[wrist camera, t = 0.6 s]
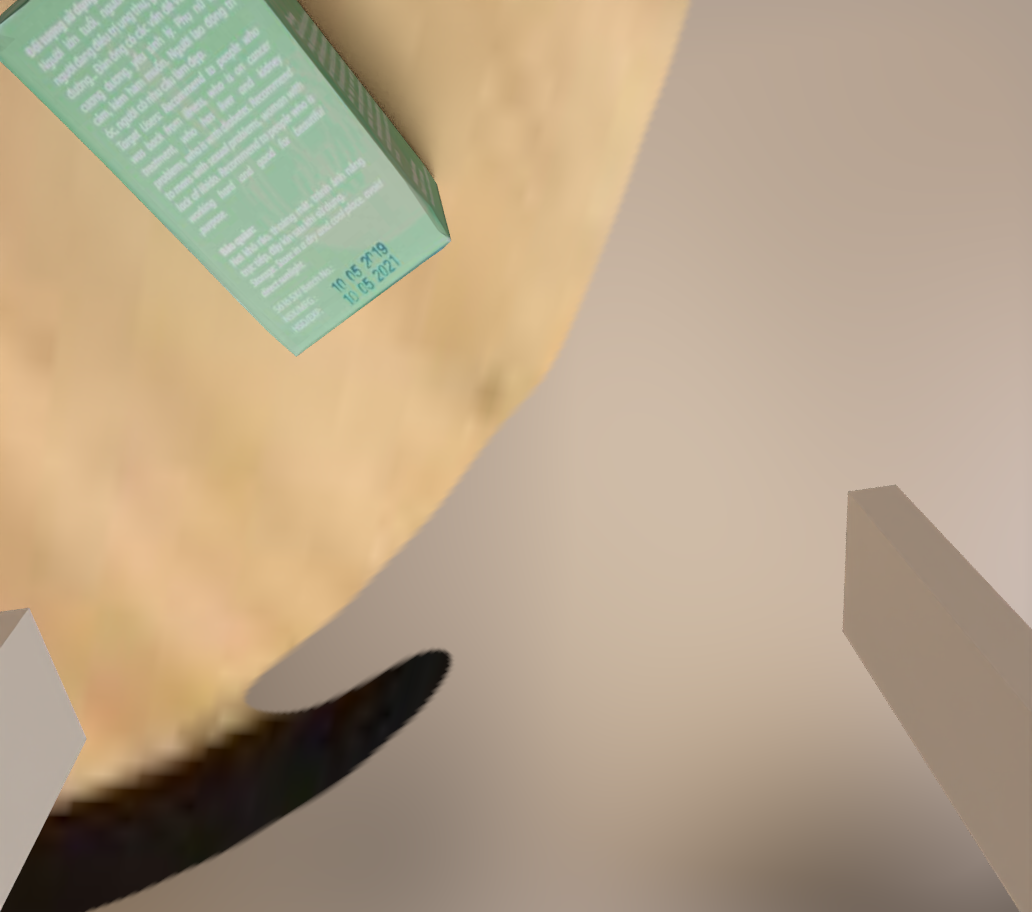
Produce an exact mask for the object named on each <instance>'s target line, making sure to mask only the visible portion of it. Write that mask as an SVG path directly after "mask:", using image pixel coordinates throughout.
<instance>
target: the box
mask: <svg viewBox="0 0 1032 912" xmlns="http://www.w3.org/2000/svg"><path fill="white" fill-rule="evenodd" d="M0 62H1V63H3V64H4V65H5V66H6V67H7V68H8V69H9V70H10V71H11V72H12V73H13V74H14V75H15V76H16V77H17V78H18V79H19V80H20V81H21V82H22V83H23V84H24V85H25V86H27V87H28V88H29V89H30V90H31V91H32V92H33V93H34V94H35V95H36V96H37V97H38V98H39V99H40V100H41V101H42V102H43V103H44V104H45V105H46V106H47V107H48V108H49V109H50V110H51V111H52V112H53V113H54V114H55V115H56V116H57V117H58V118H59V119H60V120H61V121H62V122H63V123H64V124H65V125H66V126H67V127H68V128H69V129H70V130H71V131H72V132H73V133H74V134H75V135H76V136H77V137H78V138H79V139H80V140H81V141H82V142H83V143H84V144H85V145H86V146H87V147H88V148H89V149H90V150H91V151H92V152H93V153H94V154H95V155H96V156H97V157H98V158H99V159H100V160H101V161H102V162H103V163H104V164H105V165H106V166H107V167H108V168H109V169H110V170H111V171H112V172H113V173H114V174H115V175H116V176H117V177H118V178H119V179H120V180H121V181H122V182H123V184H124V185H125V186H126V187H127V188H128V189H129V190H130V191H131V192H132V193H133V194H134V195H135V196H136V197H137V198H138V199H139V200H140V201H141V202H142V203H143V204H144V205H145V206H146V207H147V208H148V209H149V210H150V211H151V212H152V213H153V214H154V215H155V216H156V217H157V218H158V219H159V220H160V221H161V222H162V223H163V224H164V225H165V226H166V228H167V229H168V230H169V231H170V232H171V233H172V234H173V235H174V236H175V237H176V238H177V239H178V240H179V241H180V242H181V243H182V244H183V245H184V246H185V247H186V248H187V249H188V250H189V251H190V252H191V253H192V254H193V255H194V256H195V257H196V258H197V259H198V260H199V261H200V262H201V263H202V264H203V265H204V266H205V268H206V269H207V270H208V271H209V272H210V273H211V274H212V275H213V276H214V277H215V278H216V279H217V280H218V281H219V282H220V283H221V284H222V285H223V286H224V287H225V288H226V289H227V290H228V291H229V292H230V293H231V294H232V296H233V297H234V298H235V299H236V300H237V301H238V302H239V303H240V304H241V305H242V306H243V307H244V308H245V309H246V310H247V311H248V312H249V313H250V314H251V315H252V316H253V317H254V318H255V319H256V320H257V321H258V322H259V323H260V324H261V325H262V326H263V327H264V328H265V329H266V330H267V331H268V332H269V333H270V334H271V335H272V336H274V337H275V338H276V339H277V340H278V341H279V342H280V343H281V344H282V345H284V346H285V347H286V348H287V349H288V350H289V351H290V352H292V353H293V354H294V355H295V356H298V355H299V354H300V353H302V352H303V351H304V350H306V349H307V348H308V347H310V346H311V345H312V344H314V343H315V342H317V341H318V340H319V339H321V338H322V337H323V336H325V335H326V334H327V333H329V332H330V331H331V330H333V329H334V328H335V327H337V326H338V325H340V324H341V323H342V322H344V321H345V320H346V319H348V318H349V317H350V316H352V315H353V314H354V313H356V312H357V311H358V310H360V309H361V308H363V307H364V306H365V305H367V304H368V303H369V302H371V301H372V300H373V299H375V298H376V297H377V296H379V295H380V294H381V293H383V292H384V291H386V290H387V289H388V288H390V287H391V286H392V285H394V284H395V283H396V282H398V281H399V280H400V279H402V278H403V277H404V276H406V275H407V274H409V273H410V272H411V271H413V270H414V269H415V268H417V267H418V266H419V265H421V264H422V263H423V262H425V261H426V260H428V259H429V258H430V257H432V256H433V255H435V254H436V253H437V252H439V251H440V250H442V249H443V248H444V247H445V246H446V245H447V244H448V243H449V242H450V241H451V238H450V234H449V230H448V226H447V223H446V219H445V215H444V211H443V207H442V203H441V199H440V195H439V191H438V187H437V184H436V182H435V181H434V179H433V178H432V176H431V175H430V173H429V171H428V170H427V168H426V167H425V165H424V164H423V163H422V161H421V160H420V159H419V158H418V156H417V155H416V154H415V152H414V151H413V150H412V149H411V147H410V146H409V145H408V143H407V142H406V141H405V140H404V138H403V137H402V136H401V134H400V133H399V132H398V131H397V129H396V128H395V127H394V125H393V124H392V123H391V121H390V120H389V119H388V118H387V116H386V115H385V114H384V112H383V111H382V110H381V109H380V107H379V106H378V105H377V103H376V102H375V101H374V99H373V98H372V97H371V96H370V94H369V93H368V92H367V90H366V89H365V88H364V87H363V85H362V84H361V83H360V81H359V80H358V79H357V78H356V76H355V75H354V74H353V72H352V71H351V70H350V69H349V67H348V66H347V65H346V63H345V62H344V61H343V60H342V58H341V57H340V56H339V54H338V53H337V52H336V51H335V49H334V48H333V47H332V45H331V44H330V43H329V41H328V40H327V39H326V38H325V36H324V35H323V34H322V32H321V31H320V30H319V29H318V27H317V26H316V25H315V23H314V22H313V21H312V20H311V18H310V17H309V16H308V14H307V13H306V12H305V10H304V9H303V8H302V7H301V5H300V4H299V3H298V1H297V0H17V1H16V2H15V3H14V4H12V5H11V6H10V7H9V8H8V9H7V10H6V11H5V12H3V13H2V14H1V16H0Z"/></svg>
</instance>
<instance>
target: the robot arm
mask: <svg viewBox="0 0 1032 912" xmlns="http://www.w3.org/2000/svg"><path fill="white" fill-rule="evenodd" d="M847 508H848V509H847V532H846V561H845V586H844V611H843V633H844V634H845V636H846V637H847V639H848V640H849V642H850V644H851V645H852V647H853V648H854V650H855V652H856V653H857V655H858V656H859V658H860V659H861V661H862V663H863V664H864V666H865V667H866V669H867V671H868V672H869V674H870V675H871V677H872V679H873V680H874V681H875V683H876V685H877V686H878V688H879V690H880V691H881V693H882V694H883V696H884V697H885V699H886V701H887V702H888V704H889V705H890V707H891V708H892V710H893V712H894V713H895V715H896V716H897V718H898V720H899V721H900V722H901V724H902V726H903V728H904V729H905V731H906V732H907V734H908V736H909V737H910V739H911V740H912V742H913V743H914V745H915V747H916V748H917V750H918V751H919V753H920V754H921V756H922V758H923V759H924V761H925V762H926V764H927V765H928V767H929V769H930V770H931V772H932V773H933V775H934V777H935V778H936V780H937V781H938V783H939V785H940V786H941V788H942V789H943V791H944V792H945V794H946V796H947V797H948V799H949V800H950V802H951V803H952V805H953V807H954V808H955V810H956V811H957V813H958V814H959V816H960V818H961V819H962V821H963V823H964V824H965V825H966V827H967V829H968V830H969V832H970V834H971V835H972V837H973V838H974V840H975V841H976V843H977V845H978V846H979V848H980V849H981V851H982V853H983V854H984V856H985V857H986V859H987V860H988V862H989V864H990V865H991V867H992V868H993V870H994V872H995V873H996V875H997V876H998V878H999V879H1000V881H1001V882H1002V884H1003V886H1004V887H1005V889H1006V891H1007V892H1008V894H1009V895H1010V897H1011V898H1012V900H1013V902H1014V903H1015V905H1016V906H1017V908H1018V910H1019V911H1020V912H1032V629H1031V628H1030V627H1029V626H1028V625H1027V624H1026V623H1025V622H1024V621H1023V619H1022V618H1021V617H1020V616H1019V615H1018V614H1017V613H1016V612H1015V611H1014V610H1013V609H1012V608H1011V607H1010V606H1009V605H1008V604H1007V602H1006V601H1005V600H1004V599H1003V598H1002V597H1001V596H1000V595H999V594H998V593H997V592H996V591H995V590H994V589H993V588H992V587H991V585H990V584H989V583H988V582H987V581H986V580H985V579H984V578H983V577H982V576H981V575H980V574H979V573H978V572H977V571H976V569H974V568H973V566H972V565H971V564H970V563H969V562H968V561H967V560H966V559H965V558H964V557H963V556H962V555H961V554H960V552H959V551H958V550H957V549H956V548H955V547H954V546H953V545H952V544H951V543H950V542H949V541H948V540H947V539H946V538H945V537H944V536H943V534H942V533H941V532H940V531H939V530H938V529H937V528H936V527H935V526H934V525H933V524H932V523H931V522H930V521H929V520H928V518H927V517H926V516H925V515H924V514H923V513H922V512H921V511H920V510H919V509H918V508H917V507H916V506H915V505H914V504H913V503H912V502H911V500H910V499H909V498H908V497H907V496H906V495H905V494H904V493H903V492H902V491H901V490H900V489H899V488H898V487H897V486H896V485H891V486H883V487H876V488H869V489H863V490H855V491H849V492H848V506H847ZM85 741H86V736H85V734H84V732H83V730H82V727H81V725H80V723H79V720H78V718H77V716H76V714H75V711H74V709H73V707H72V705H71V702H70V700H69V698H68V695H67V693H66V691H65V689H64V686H63V684H62V682H61V679H60V677H59V675H58V673H57V670H56V668H55V666H54V663H53V661H52V659H51V657H50V654H49V652H48V650H47V647H46V645H45V643H44V641H43V638H42V636H41V634H40V632H39V629H38V627H37V625H36V622H35V620H34V618H33V616H32V613H31V611H30V609H29V608H24V609H17V610H10V611H3V612H0V910H1V908H2V906H3V904H4V902H5V900H6V898H7V896H8V894H9V892H10V890H11V888H12V886H13V884H14V882H15V880H16V878H17V876H18V874H19V872H20V870H21V868H22V866H23V864H24V862H25V860H26V858H27V857H28V855H29V853H30V851H31V849H32V847H33V845H34V843H35V841H36V839H37V837H38V835H39V833H40V831H41V829H42V827H43V825H44V823H45V821H46V819H47V817H48V815H49V813H50V811H51V809H52V807H53V805H54V803H55V801H56V799H57V797H58V795H59V793H60V791H61V789H62V787H63V785H64V783H65V781H66V779H67V777H68V775H69V773H70V771H71V769H72V767H73V765H74V763H75V761H76V759H77V757H78V755H79V753H80V751H81V749H82V747H83V745H84V743H85Z"/></svg>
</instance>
